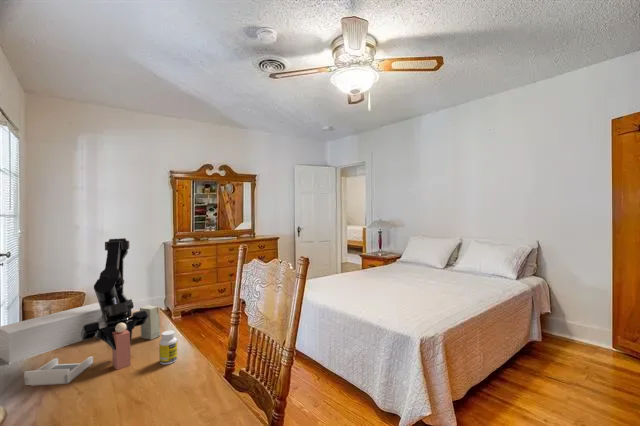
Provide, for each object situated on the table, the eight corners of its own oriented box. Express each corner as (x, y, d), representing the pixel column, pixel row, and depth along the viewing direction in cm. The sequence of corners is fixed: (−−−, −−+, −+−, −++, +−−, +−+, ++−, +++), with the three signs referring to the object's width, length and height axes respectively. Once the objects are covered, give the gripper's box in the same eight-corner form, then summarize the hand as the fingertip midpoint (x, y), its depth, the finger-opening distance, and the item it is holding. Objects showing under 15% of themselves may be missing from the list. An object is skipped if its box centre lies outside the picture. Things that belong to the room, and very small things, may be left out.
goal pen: (55, 365, 106) (54, 353, 106) (93, 363, 107) (92, 351, 107) (24, 385, 94) (24, 372, 94) (67, 383, 95) (67, 370, 95)
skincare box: (160, 336, 130) (160, 306, 129) (151, 340, 126) (150, 309, 125) (149, 333, 132) (149, 304, 132) (140, 337, 128) (139, 307, 128)
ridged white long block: (97, 327, 141) (96, 302, 141) (110, 331, 136) (110, 306, 135) (-2, 357, 113) (-3, 327, 113) (9, 364, 108) (8, 333, 108)
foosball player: (112, 365, 106) (111, 323, 106) (126, 361, 109) (125, 319, 109) (117, 369, 103) (115, 326, 103) (130, 365, 106) (129, 322, 106)
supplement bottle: (170, 365, 105) (169, 336, 105) (156, 364, 107) (155, 335, 106) (180, 358, 111) (180, 330, 110) (167, 356, 112) (166, 328, 112)
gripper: (82, 299, 101) (93, 344, 94) (145, 287, 115) (159, 325, 108) (76, 318, 106) (86, 362, 99) (137, 305, 120) (150, 342, 114)
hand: (122, 346), depth 105 cm, fingers closed on foosball player, 4 cm apart
